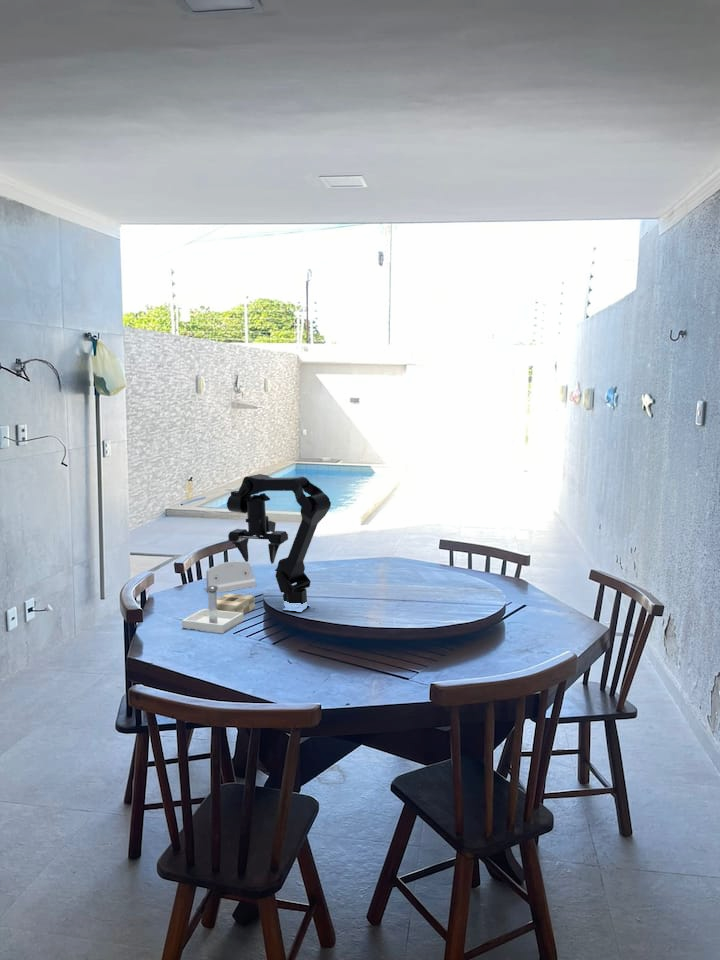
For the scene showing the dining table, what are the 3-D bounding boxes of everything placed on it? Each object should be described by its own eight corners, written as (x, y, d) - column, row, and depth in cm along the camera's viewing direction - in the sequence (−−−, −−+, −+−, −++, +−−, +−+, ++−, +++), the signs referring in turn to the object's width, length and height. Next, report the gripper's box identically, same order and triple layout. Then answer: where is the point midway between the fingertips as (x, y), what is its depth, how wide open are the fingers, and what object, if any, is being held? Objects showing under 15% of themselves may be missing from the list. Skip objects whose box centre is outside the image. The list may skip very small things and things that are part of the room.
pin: (221, 622, 227) (219, 586, 226) (214, 624, 224) (213, 588, 223) (212, 620, 228) (210, 585, 227) (205, 623, 225) (204, 587, 224)
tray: (243, 621, 228) (243, 613, 228) (223, 633, 218) (222, 625, 218) (204, 616, 234) (203, 608, 233) (182, 628, 224) (181, 620, 224)
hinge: (210, 594, 256) (205, 564, 258) (206, 595, 260) (202, 566, 262) (257, 585, 264) (252, 557, 265) (253, 587, 268) (248, 559, 269)
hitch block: (255, 608, 240) (254, 595, 239) (237, 618, 231) (236, 605, 230) (227, 605, 244) (227, 593, 243) (209, 615, 235) (208, 602, 234)
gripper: (294, 510, 246) (297, 557, 248) (243, 508, 252) (246, 554, 255) (278, 517, 235) (281, 566, 238) (225, 515, 242) (229, 563, 245)
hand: (259, 562), depth 244 cm, fingers open, 9 cm apart
